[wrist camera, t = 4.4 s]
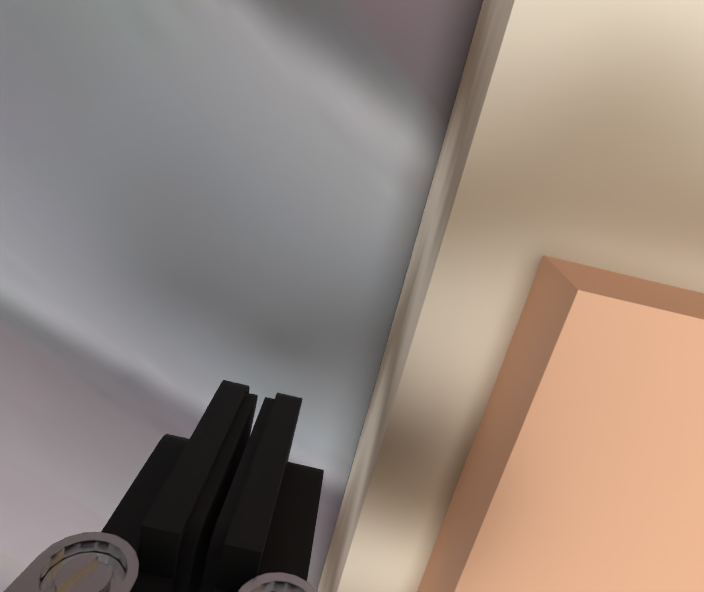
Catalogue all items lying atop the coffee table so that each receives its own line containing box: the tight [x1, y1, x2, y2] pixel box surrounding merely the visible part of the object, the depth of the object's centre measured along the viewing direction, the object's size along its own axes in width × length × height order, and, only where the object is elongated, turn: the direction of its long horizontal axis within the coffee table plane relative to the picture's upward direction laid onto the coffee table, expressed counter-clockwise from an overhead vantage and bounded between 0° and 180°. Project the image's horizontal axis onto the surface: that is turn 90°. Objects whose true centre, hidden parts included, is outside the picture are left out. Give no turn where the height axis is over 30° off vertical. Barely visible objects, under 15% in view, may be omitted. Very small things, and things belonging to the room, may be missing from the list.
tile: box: [417, 255, 704, 592], centre depth 11 cm, size 10×7×2 cm
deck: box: [317, 0, 704, 592], centre depth 14 cm, size 20×12×4 cm, turn 167°
